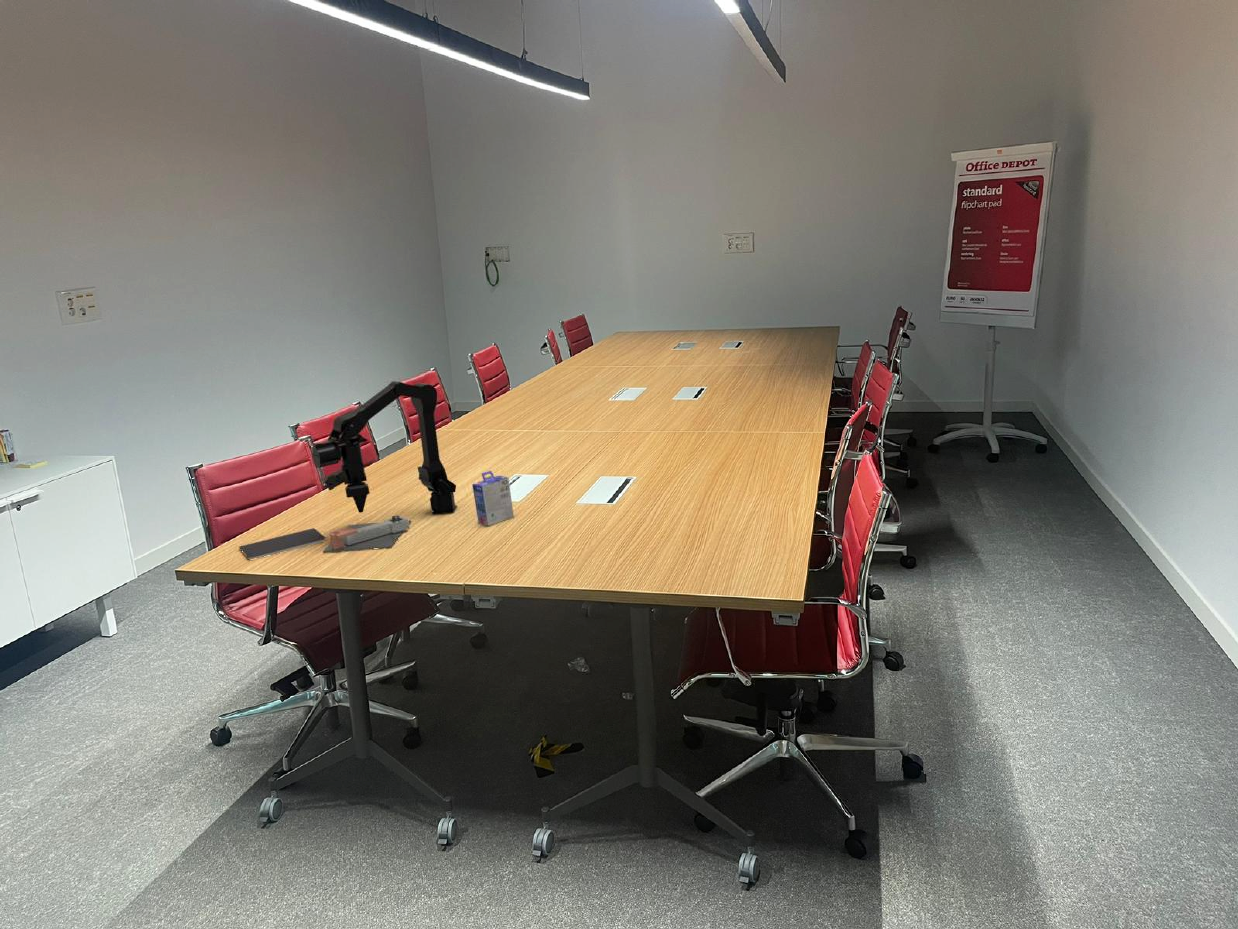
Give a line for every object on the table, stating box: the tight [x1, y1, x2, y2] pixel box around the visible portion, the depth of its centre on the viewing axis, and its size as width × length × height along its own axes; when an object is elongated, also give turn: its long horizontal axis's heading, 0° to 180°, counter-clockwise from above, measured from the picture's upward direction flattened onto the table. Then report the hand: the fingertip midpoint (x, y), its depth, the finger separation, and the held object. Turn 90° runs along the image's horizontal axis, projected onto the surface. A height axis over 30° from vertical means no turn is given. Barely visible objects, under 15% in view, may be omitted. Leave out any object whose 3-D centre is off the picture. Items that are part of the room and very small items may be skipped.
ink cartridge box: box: [471, 470, 515, 527], centre depth 261 cm, size 10×6×14 cm, turn 135°
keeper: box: [329, 525, 358, 550], centre depth 250 cm, size 6×6×5 cm
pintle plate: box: [322, 514, 413, 554], centre depth 258 cm, size 19×22×5 cm
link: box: [342, 515, 410, 545], centre depth 257 cm, size 18×5×3 cm, turn 128°
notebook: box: [239, 527, 326, 560], centre depth 258 cm, size 13×2×21 cm
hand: (361, 512), depth 259 cm, fingers closed
